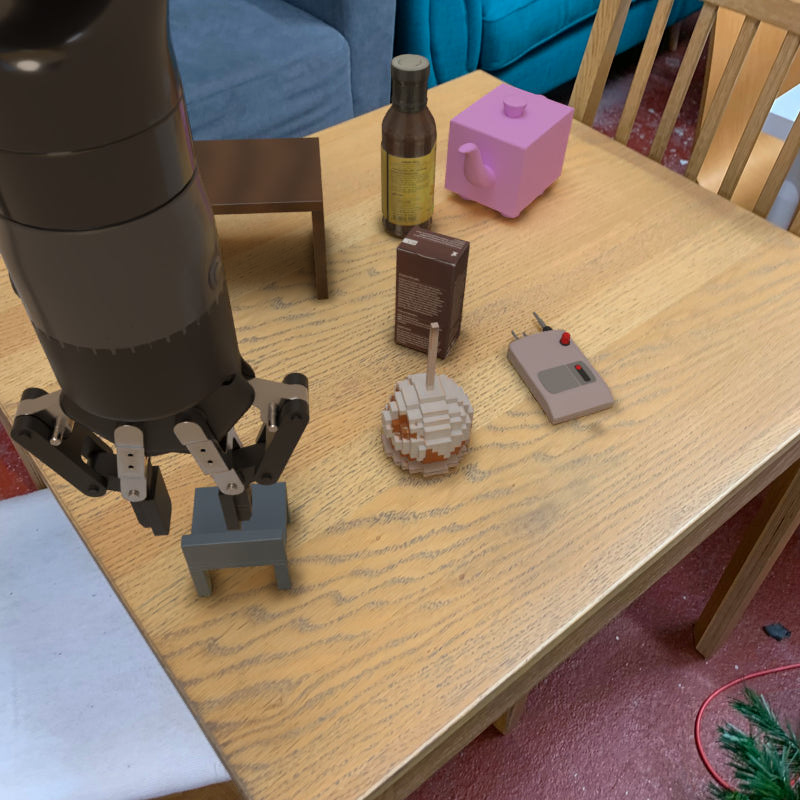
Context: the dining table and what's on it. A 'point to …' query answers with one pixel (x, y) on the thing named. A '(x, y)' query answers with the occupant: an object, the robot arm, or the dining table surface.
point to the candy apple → (427, 419)
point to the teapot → (507, 148)
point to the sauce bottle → (408, 149)
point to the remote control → (558, 374)
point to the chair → (238, 536)
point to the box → (430, 289)
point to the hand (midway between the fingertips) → (199, 518)
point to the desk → (267, 183)
